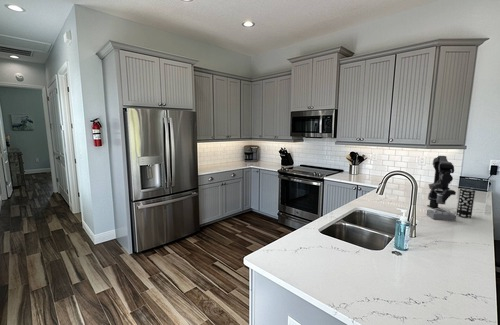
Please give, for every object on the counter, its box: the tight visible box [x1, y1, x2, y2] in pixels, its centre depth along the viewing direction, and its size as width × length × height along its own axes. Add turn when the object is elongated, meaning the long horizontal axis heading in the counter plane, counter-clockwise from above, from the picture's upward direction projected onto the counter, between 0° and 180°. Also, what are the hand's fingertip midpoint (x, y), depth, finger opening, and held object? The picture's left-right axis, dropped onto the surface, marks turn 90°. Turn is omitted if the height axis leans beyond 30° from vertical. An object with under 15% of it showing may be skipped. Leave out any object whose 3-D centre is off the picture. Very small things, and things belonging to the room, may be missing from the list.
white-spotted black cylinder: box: [455, 188, 476, 219], centre depth 175 cm, size 8×8×20 cm
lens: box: [436, 193, 447, 205], centre depth 171 cm, size 5×5×7 cm
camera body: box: [426, 208, 457, 222], centre depth 172 cm, size 9×14×6 cm, turn 78°
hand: (441, 201), depth 171 cm, fingers closed on lens, 5 cm apart
